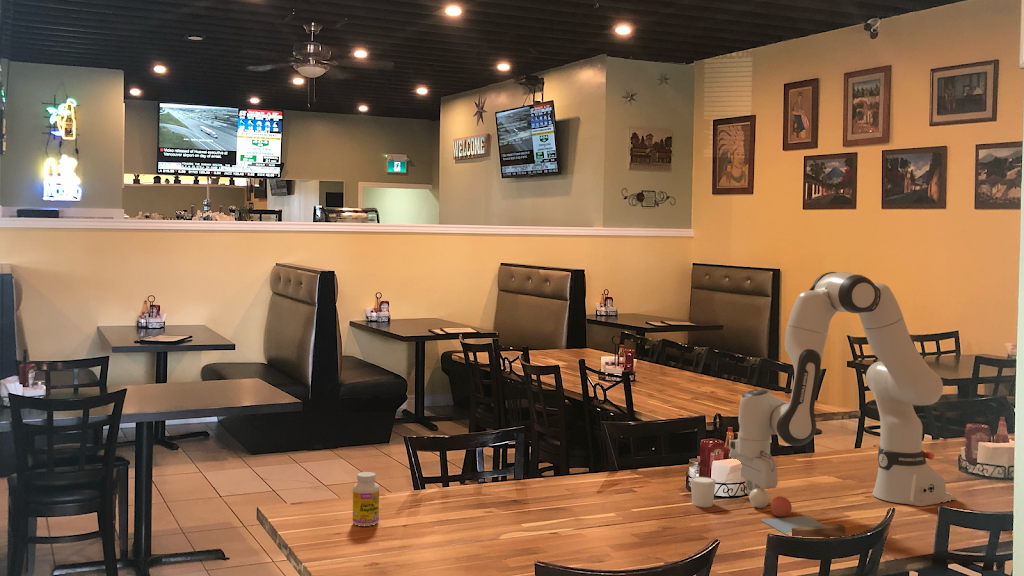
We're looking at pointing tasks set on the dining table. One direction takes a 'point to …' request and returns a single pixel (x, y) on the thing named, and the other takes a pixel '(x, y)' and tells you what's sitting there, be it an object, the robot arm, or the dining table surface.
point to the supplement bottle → (366, 500)
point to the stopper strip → (820, 531)
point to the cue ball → (759, 497)
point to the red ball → (781, 506)
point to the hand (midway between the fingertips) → (752, 496)
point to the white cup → (702, 491)
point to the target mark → (791, 523)
